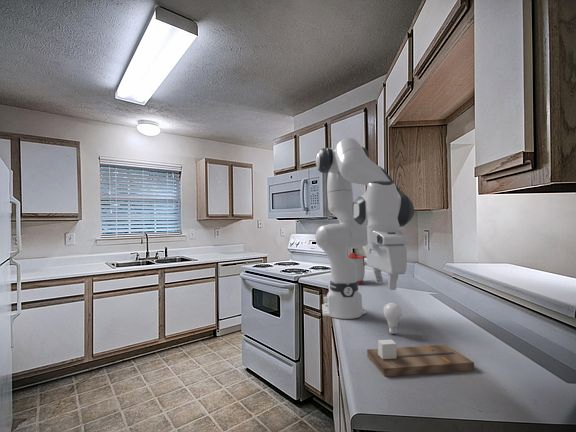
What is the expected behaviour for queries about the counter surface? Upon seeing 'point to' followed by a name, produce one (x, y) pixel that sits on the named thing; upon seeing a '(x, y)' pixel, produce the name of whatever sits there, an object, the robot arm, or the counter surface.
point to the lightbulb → (392, 316)
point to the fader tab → (387, 349)
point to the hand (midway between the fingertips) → (385, 286)
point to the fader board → (421, 360)
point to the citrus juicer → (359, 266)
